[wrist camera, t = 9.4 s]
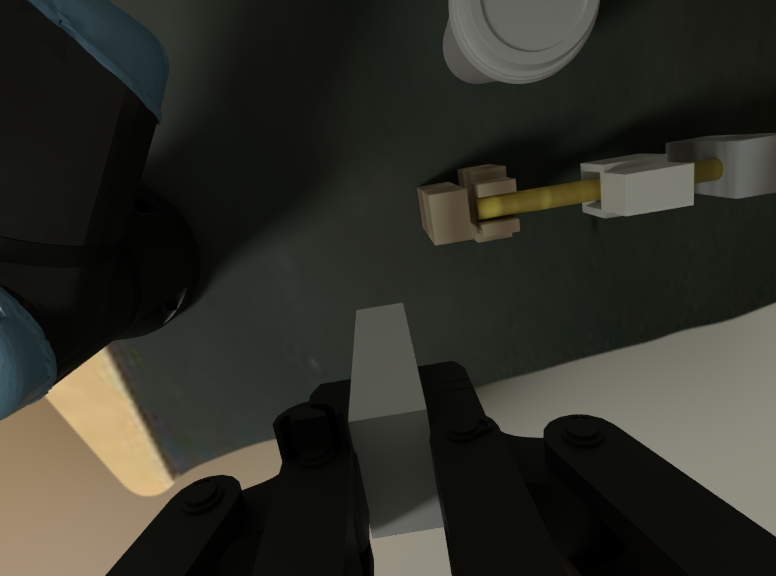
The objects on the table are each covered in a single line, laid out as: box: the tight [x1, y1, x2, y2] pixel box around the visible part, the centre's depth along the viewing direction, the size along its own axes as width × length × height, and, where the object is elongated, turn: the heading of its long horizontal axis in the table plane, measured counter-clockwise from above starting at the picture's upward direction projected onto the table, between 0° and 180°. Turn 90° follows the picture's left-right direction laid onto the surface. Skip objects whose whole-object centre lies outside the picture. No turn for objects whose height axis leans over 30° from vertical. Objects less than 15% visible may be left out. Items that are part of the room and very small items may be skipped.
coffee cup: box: [443, 0, 600, 84], centre depth 36 cm, size 10×10×15 cm
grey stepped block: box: [580, 154, 694, 218], centre depth 38 cm, size 5×4×7 cm
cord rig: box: [417, 133, 776, 245], centre depth 42 cm, size 28×6×10 cm, turn 99°
